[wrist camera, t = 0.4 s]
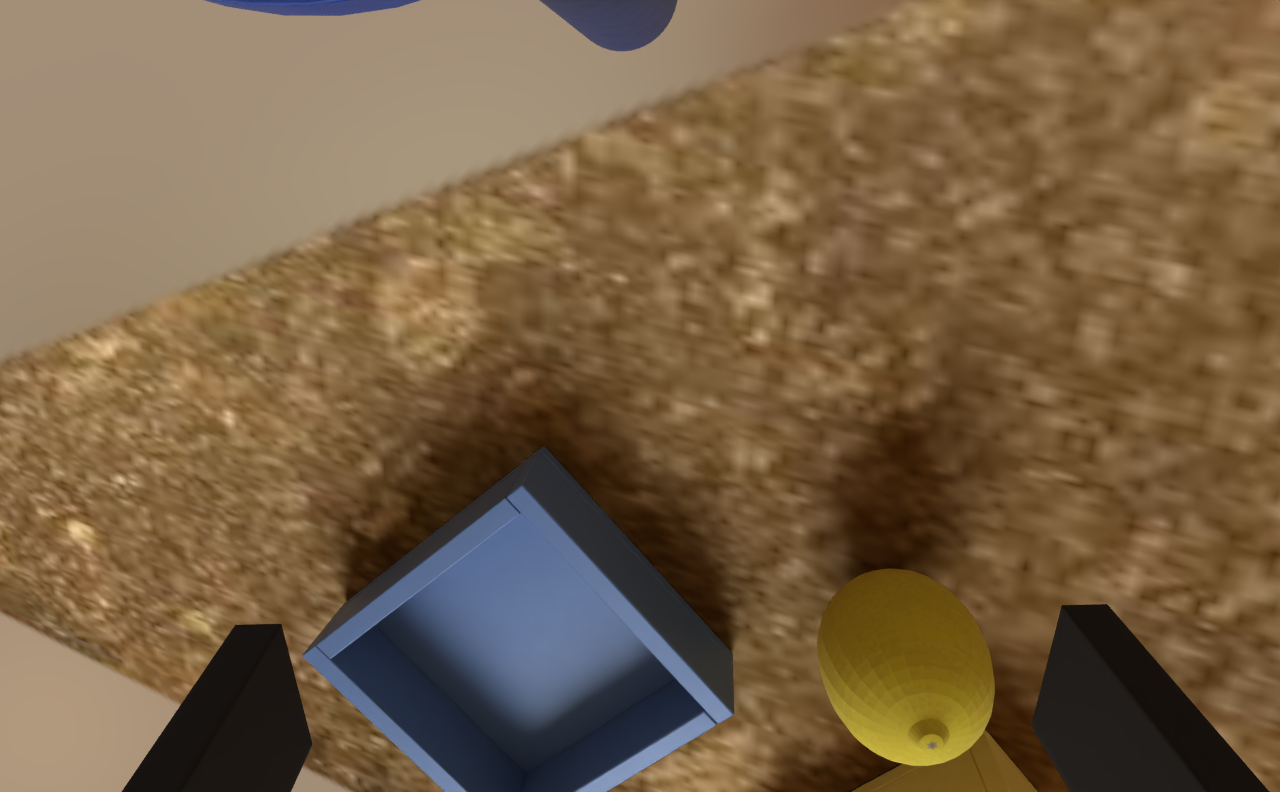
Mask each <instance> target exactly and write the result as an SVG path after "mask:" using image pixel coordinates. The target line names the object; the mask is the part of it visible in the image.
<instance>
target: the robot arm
mask: <svg viewBox="0 0 1280 792" xmlns="http://www.w3.org/2000/svg"><path fill="white" fill-rule="evenodd" d="M1031 727H1032V729H1033V730H1034V732H1035V734H1036V735H1037V737H1038V739H1039V740H1040V742H1041V744H1042V745H1043V747H1044V749H1045V750H1046V752H1047V754H1048V755H1049V757H1050V759H1051V760H1052V762H1053V764H1054V765H1055V767H1056V769H1057V770H1058V772H1059V774H1060V775H1061V777H1062V779H1063V780H1064V782H1065V784H1066V785H1067V787H1068V789H1069V791H1070V792H1269V791H1268V790H1267V789H1266V787H1265V786H1264V785H1263V784H1262V783H1261V782H1260V780H1259V779H1258V778H1257V777H1256V776H1255V775H1254V773H1253V772H1252V771H1251V770H1250V769H1249V768H1248V767H1247V765H1246V764H1245V763H1244V762H1243V761H1242V760H1241V758H1240V757H1239V756H1238V755H1237V754H1236V753H1235V752H1234V750H1233V749H1232V748H1231V747H1230V746H1229V745H1228V743H1227V742H1226V741H1225V740H1224V739H1223V738H1222V736H1221V735H1220V734H1219V733H1218V732H1217V731H1216V730H1215V728H1214V727H1213V726H1212V725H1211V724H1210V723H1209V721H1208V720H1207V719H1206V718H1205V717H1204V716H1203V715H1202V713H1201V712H1200V711H1199V710H1198V709H1197V708H1196V706H1195V705H1194V704H1193V703H1192V702H1191V701H1190V699H1189V698H1188V697H1187V696H1186V695H1185V694H1184V693H1183V691H1182V690H1181V689H1180V688H1179V687H1178V686H1177V684H1176V683H1175V682H1174V681H1173V680H1172V679H1171V678H1170V676H1169V675H1168V674H1167V673H1166V672H1165V671H1164V669H1163V668H1162V667H1161V666H1160V665H1159V664H1158V662H1157V661H1156V660H1155V659H1154V658H1153V657H1152V656H1151V654H1150V653H1149V652H1148V651H1147V650H1146V649H1145V647H1144V646H1143V645H1142V644H1141V643H1140V642H1139V641H1138V639H1137V638H1136V637H1135V636H1134V635H1133V634H1132V632H1131V631H1130V630H1129V629H1128V628H1127V627H1126V625H1125V624H1124V623H1123V622H1122V621H1121V620H1120V619H1119V617H1118V616H1117V615H1116V614H1115V613H1114V612H1113V610H1112V609H1111V608H1110V607H1109V606H1108V605H1107V604H1100V605H1062V607H1061V611H1060V615H1059V619H1058V623H1057V627H1056V631H1055V635H1054V639H1053V643H1052V647H1051V651H1050V654H1049V658H1048V662H1047V666H1046V670H1045V674H1044V678H1043V682H1042V686H1041V690H1040V694H1039V698H1038V702H1037V706H1036V710H1035V714H1034V717H1033V721H1032V725H1031ZM311 746H312V741H311V737H310V733H309V729H308V725H307V721H306V718H305V714H304V710H303V706H302V702H301V698H300V694H299V691H298V687H297V683H296V679H295V675H294V671H293V667H292V664H291V660H290V656H289V652H288V648H287V644H286V640H285V637H284V633H283V629H282V625H281V624H257V625H235V626H234V628H233V629H232V631H231V632H230V634H229V635H228V637H227V638H226V639H225V641H224V642H223V644H222V645H221V647H220V648H219V650H218V651H217V653H216V654H215V656H214V657H213V659H212V660H211V661H210V663H209V664H208V666H207V667H206V669H205V670H204V672H203V673H202V675H201V676H200V678H199V679H198V681H197V682H196V683H195V685H194V686H193V688H192V689H191V691H190V692H189V694H188V695H187V697H186V698H185V700H184V701H183V703H182V704H181V705H180V707H179V709H178V710H177V711H176V713H175V714H174V716H173V717H172V719H171V720H170V722H169V723H168V725H167V726H166V728H165V729H164V730H163V732H162V733H161V735H160V736H159V738H158V739H157V741H156V742H155V744H154V745H153V747H152V748H151V750H150V751H149V752H148V754H147V755H146V757H145V758H144V760H143V761H142V763H141V764H140V766H139V767H138V769H137V770H136V771H135V773H134V774H133V776H132V777H131V779H130V780H129V782H128V783H127V785H126V786H125V788H124V789H123V791H122V792H291V790H292V788H293V786H294V784H295V781H296V779H297V777H298V775H299V773H300V770H301V768H302V766H303V764H304V762H305V759H306V757H307V755H308V753H309V751H310V748H311Z"/></svg>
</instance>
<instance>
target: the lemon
mask: <svg viewBox="0 0 1280 792" xmlns="http://www.w3.org/2000/svg"><path fill="white" fill-rule="evenodd" d="M817 644H818V659H819V669H820V674H821V678H822V681H823V683H824V686H825V688H826V691H827V693H828V696H829V699H830V701H831V703H832V705H833V707H834V709H835V711H836V713H837V714H838V716H839V717H840V719H841V720H842V721H843V723H844V724H845V725H846V727H847V728H848V729H849V731H850V732H851V733H852V734H853V736H854V737H855V738H856V739H857V740H858V741H859V742H861V743H862V744H863V745H865V746H866V747H867V748H869V749H870V750H871V751H873V752H874V753H876V754H877V755H880V756H882V757H884V758H886V759H888V760H891V761H893V762H898V763H902V764H907V765H911V766H929V765H935V764H940V763H944V762H946V761H949V760H951V759H954V758H956V757H958V756H959V755H961V754H962V753H964V752H965V751H967V750H968V749H969V748H970V747H972V745H973V744H974V743H975V742H976V741H977V740H978V739H979V738H980V736H981V735H982V734H983V732H984V730H985V728H986V726H987V724H988V721H989V719H990V717H991V714H992V708H993V701H994V695H995V683H994V675H993V669H992V663H991V657H990V653H989V649H988V646H987V643H986V641H985V639H984V637H983V635H982V633H981V631H980V629H979V627H978V625H977V623H976V621H975V619H974V617H973V616H972V614H971V613H970V612H969V610H968V609H967V608H966V607H965V606H964V605H963V604H962V603H961V602H960V601H959V599H958V598H957V597H956V596H955V595H954V594H953V593H952V592H951V591H950V590H948V589H947V588H946V587H944V586H943V585H941V584H939V583H938V582H936V581H935V580H933V579H931V578H929V577H927V576H925V575H922V574H919V573H916V572H913V571H910V570H902V569H891V568H889V569H881V570H874V571H871V572H868V573H865V574H862V575H859V576H857V577H856V578H854V579H853V580H851V581H850V582H848V583H846V584H845V585H844V586H843V587H842V588H841V589H840V590H839V591H838V592H837V593H836V594H835V595H834V596H833V598H832V600H831V601H830V603H829V605H828V607H827V609H826V610H825V612H824V614H823V617H822V621H821V625H820V630H819V634H818V642H817Z"/></svg>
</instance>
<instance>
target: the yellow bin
mask: <svg viewBox="0 0 1280 792" xmlns="http://www.w3.org/2000/svg"><path fill="white" fill-rule="evenodd" d="M851 792H1038V791H1037V790H1036V789H1035V788H1034V787H1033V785H1032V784H1031V783H1030V782H1029V781H1028V779H1027V778H1026V777H1025V776H1024V775H1023V774H1022V772H1021V771H1020V770H1019V769H1018V768H1017V766H1016V765H1015V764H1014V763H1013V762H1012V760H1011V759H1010V758H1009V757H1008V756H1007V755H1006V753H1005V752H1004V751H1003V750H1002V749H1001V747H1000V746H999V745H998V744H997V743H996V741H995V740H994V739H993V738H992V737H991V736H990V734H989V733H988V732H987V731H986V730H984V732H983V734H982V735H981V736H980V738H979V739H978V740H977V741H976V742H975V743H974V744H973V745H972V747H970V748H969V749H968V750H967V751H965V752H964V753H962V754H961V755H959V756H958V757H956V758H954V759H951V760H949V761H946V762H944V763H940V764H935V765H929V766H911V765H907V764H901V765H899V766H897V767H896V768H894V769H892V770H890V771H888V772H886V773H884V774H883V775H881V776H879V777H877V778H875V779H873V780H872V781H870V782H868V783H866V784H864V785H862V786H861V787H859V788H857V789H855V790H853V791H851Z"/></svg>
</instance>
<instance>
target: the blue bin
mask: <svg viewBox="0 0 1280 792" xmlns="http://www.w3.org/2000/svg"><path fill="white" fill-rule="evenodd" d="M303 657H304V658H305V659H306V660H307V661H308V662H309V663H310V664H311V665H312V666H313V667H314V668H315V669H316V670H318V671H319V672H320V673H321V674H322V675H323V676H324V677H325V678H326V679H327V680H328V681H329V682H330V683H331V684H332V685H333V686H334V687H335V688H336V689H338V690H339V691H340V692H341V693H342V694H343V695H344V696H345V697H346V698H347V699H348V700H349V701H350V702H351V703H352V704H353V705H354V706H355V707H356V708H357V709H359V710H360V711H361V712H362V713H363V714H364V715H365V716H366V717H367V718H368V719H369V720H370V721H371V722H372V723H373V724H374V725H375V726H376V727H377V728H378V729H380V730H381V731H382V732H383V733H384V734H385V735H386V736H387V737H388V738H389V739H390V740H391V741H392V742H393V743H394V744H395V745H396V746H397V747H398V748H399V749H401V750H402V751H403V752H404V753H405V754H406V755H407V756H408V757H409V758H410V759H411V760H412V761H413V762H414V763H415V764H416V765H417V766H418V767H419V768H421V769H422V770H423V771H424V772H425V773H426V774H427V775H428V776H429V777H430V778H431V779H432V780H433V781H434V782H435V783H436V784H437V785H438V786H439V787H440V788H442V789H443V790H444V791H445V792H607V791H609V790H610V789H612V788H613V787H615V786H617V785H618V784H620V783H622V782H623V781H625V780H627V779H628V778H630V777H632V776H633V775H635V774H637V773H638V772H640V771H642V770H643V769H645V768H647V767H648V766H650V765H651V764H653V763H655V762H656V761H658V760H660V759H661V758H663V757H665V756H666V755H668V754H670V753H671V752H673V751H675V750H676V749H678V748H680V747H681V746H683V745H684V744H686V743H688V742H689V741H691V740H693V739H694V738H696V737H698V736H699V735H701V734H703V733H704V732H706V731H708V730H709V729H711V728H713V727H714V726H716V725H717V723H721V722H722V721H724V720H726V719H727V718H729V717H731V716H732V715H733V714H734V687H733V663H732V662H733V654H732V652H731V651H730V650H729V649H728V648H727V647H726V646H725V645H724V643H723V642H722V641H721V640H720V639H719V638H718V637H717V636H716V635H715V633H714V632H713V631H712V630H711V629H710V628H709V627H708V626H707V625H706V624H705V622H704V621H703V620H702V619H701V618H700V617H699V616H698V615H697V614H696V613H695V611H694V610H693V609H692V608H691V607H690V606H689V605H688V604H687V603H686V601H685V600H684V599H683V598H682V597H681V596H680V595H679V594H678V593H677V592H676V590H675V589H674V588H673V587H672V586H671V585H670V584H669V583H668V582H667V581H666V579H665V578H664V577H663V576H662V575H661V574H660V573H659V572H658V571H657V569H656V568H655V567H654V566H653V565H652V564H651V563H650V562H649V561H648V560H647V558H646V557H645V556H644V555H643V554H642V553H641V552H640V551H639V550H638V548H637V547H636V546H635V545H634V544H633V543H632V542H631V541H630V540H629V539H628V537H627V536H626V535H625V534H624V533H623V532H622V531H621V530H620V529H619V528H618V526H617V525H616V524H615V523H614V522H613V521H612V520H611V519H610V518H609V516H608V515H607V514H606V513H605V512H604V511H603V510H602V509H601V508H600V507H599V505H598V504H597V503H596V502H595V501H594V500H593V499H592V498H591V497H590V496H589V494H588V493H587V492H586V491H585V490H584V489H583V488H582V487H581V486H580V484H579V483H578V482H577V481H576V480H575V479H574V478H573V477H572V476H571V475H570V473H569V472H568V471H567V470H566V469H565V468H564V467H563V466H562V465H561V463H560V462H559V461H558V460H557V459H556V458H555V457H554V456H553V455H552V454H551V452H550V451H549V450H548V449H547V448H546V447H545V446H543V447H542V448H540V449H539V450H538V451H537V452H535V453H534V454H533V455H531V456H530V457H529V458H528V459H526V460H525V461H524V462H523V463H521V464H520V465H519V466H518V467H516V468H515V469H514V470H512V471H511V472H510V473H509V474H507V475H506V476H505V477H504V478H502V479H501V480H500V481H499V482H497V483H496V484H495V485H493V486H492V487H491V488H490V489H488V490H487V491H486V492H485V493H483V494H482V495H481V496H480V497H478V498H477V499H476V500H474V501H473V502H472V503H471V504H469V505H468V506H467V507H466V508H464V509H463V510H462V511H461V512H459V513H458V514H457V515H455V516H454V517H453V518H452V519H450V520H449V521H448V522H447V523H445V524H444V525H443V526H442V527H440V528H439V529H438V530H436V531H435V532H434V533H433V534H431V535H430V536H429V537H428V538H426V539H425V540H424V541H423V542H421V543H420V544H419V545H417V546H416V547H415V548H414V549H412V550H411V551H410V552H409V553H407V554H406V555H405V556H404V557H402V558H401V559H400V560H398V561H397V562H396V563H395V564H393V565H392V566H391V567H390V568H388V569H387V570H386V571H385V572H383V573H382V574H381V575H379V576H378V577H377V578H376V579H374V580H373V581H372V582H371V583H369V584H368V585H367V586H366V587H364V588H363V589H362V590H360V591H359V592H358V593H357V594H355V595H354V596H353V597H352V598H350V599H349V600H348V601H347V602H345V603H344V605H343V606H342V607H341V608H340V610H339V611H338V612H337V613H336V614H335V616H334V617H333V618H332V619H331V620H330V622H329V623H328V624H327V625H326V627H325V628H324V629H323V630H322V632H321V633H320V634H319V635H318V636H317V638H316V639H315V640H314V641H313V643H312V644H311V645H310V646H309V648H308V649H307V650H306V651H305V653H304V654H303Z"/></svg>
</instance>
